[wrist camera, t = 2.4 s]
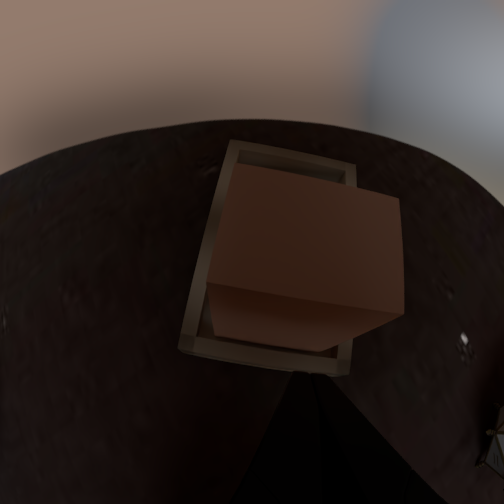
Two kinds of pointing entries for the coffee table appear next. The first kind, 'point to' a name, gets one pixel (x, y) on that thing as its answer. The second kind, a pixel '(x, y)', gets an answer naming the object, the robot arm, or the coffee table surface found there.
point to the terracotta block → (303, 261)
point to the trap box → (198, 309)
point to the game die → (496, 444)
